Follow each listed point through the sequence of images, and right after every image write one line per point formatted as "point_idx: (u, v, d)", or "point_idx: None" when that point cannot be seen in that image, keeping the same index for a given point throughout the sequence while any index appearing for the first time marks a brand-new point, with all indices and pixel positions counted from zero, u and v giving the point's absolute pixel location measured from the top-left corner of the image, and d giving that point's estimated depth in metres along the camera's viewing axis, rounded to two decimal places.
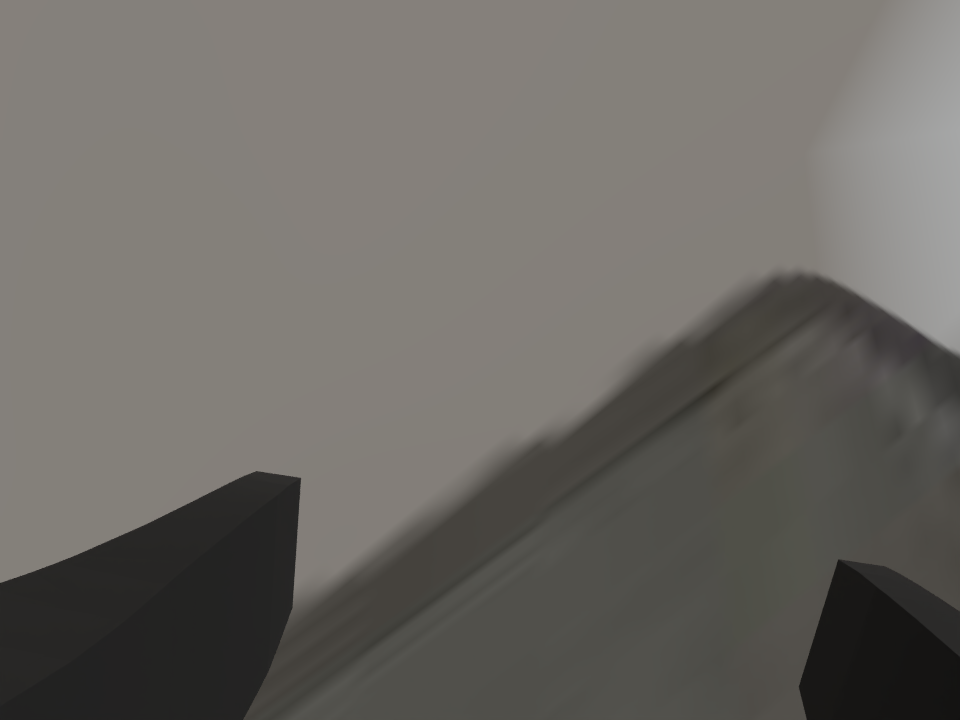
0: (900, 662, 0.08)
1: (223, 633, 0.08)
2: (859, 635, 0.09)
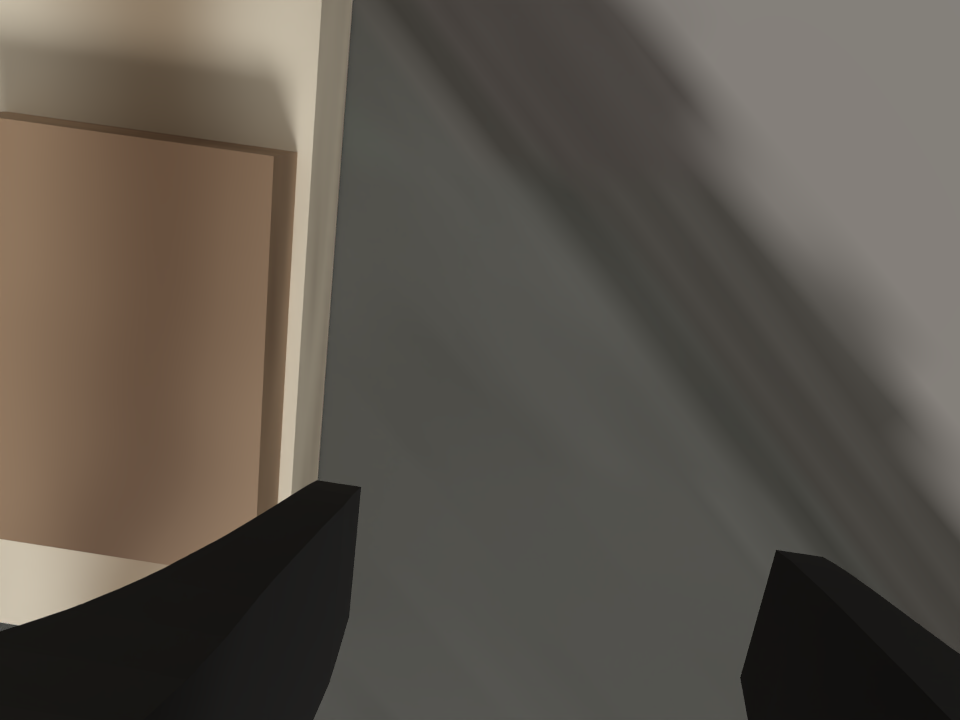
0: (826, 651, 0.09)
1: (297, 645, 0.08)
2: (791, 625, 0.09)
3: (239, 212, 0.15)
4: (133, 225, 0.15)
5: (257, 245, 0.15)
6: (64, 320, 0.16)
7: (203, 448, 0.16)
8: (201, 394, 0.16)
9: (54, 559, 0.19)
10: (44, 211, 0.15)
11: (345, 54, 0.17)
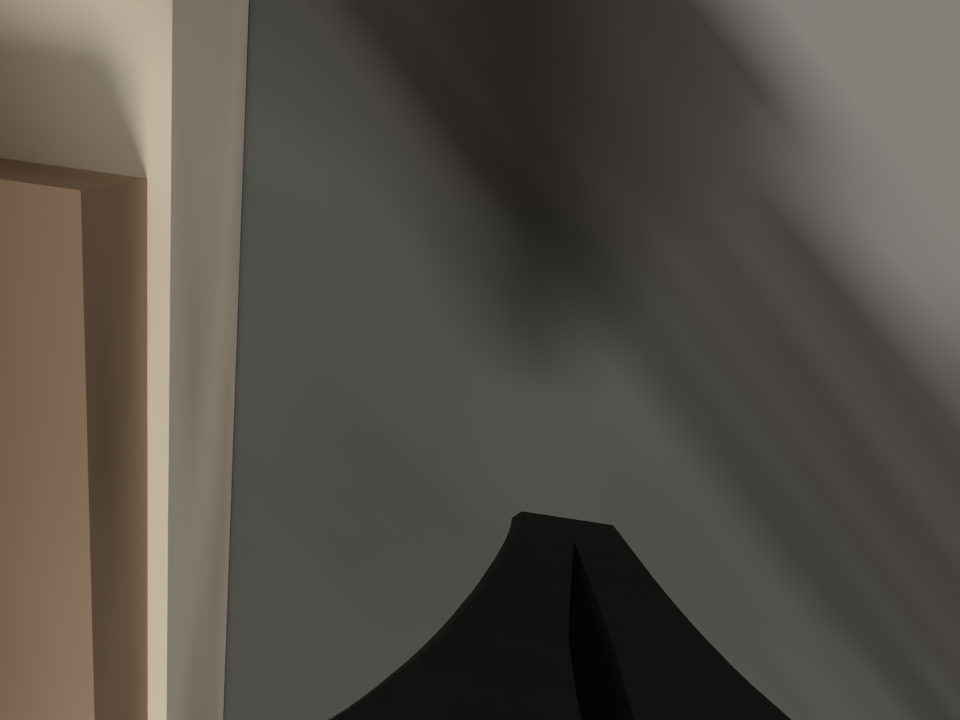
0: (576, 612, 0.09)
1: None
2: None
3: (30, 284, 0.09)
4: None
5: (65, 338, 0.09)
6: None
7: (4, 648, 0.10)
8: None
9: None
10: None
11: (240, 23, 0.11)
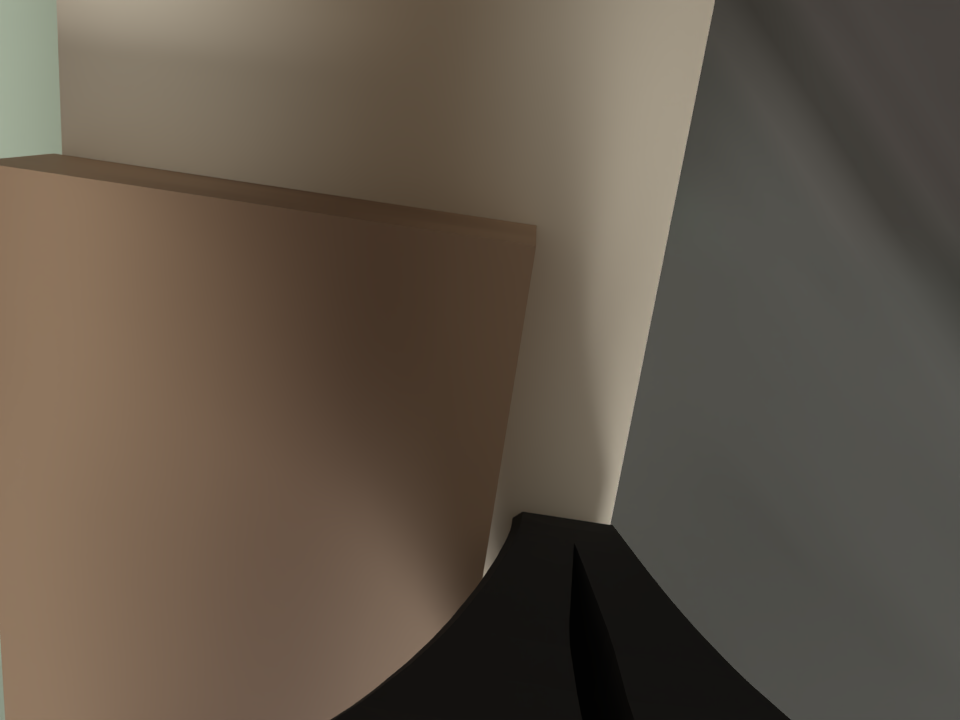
0: (575, 612, 0.09)
1: None
2: None
3: (466, 339, 0.09)
4: (276, 356, 0.09)
5: (490, 393, 0.09)
6: (149, 504, 0.09)
7: None
8: (372, 622, 0.10)
9: None
10: (122, 330, 0.09)
11: None
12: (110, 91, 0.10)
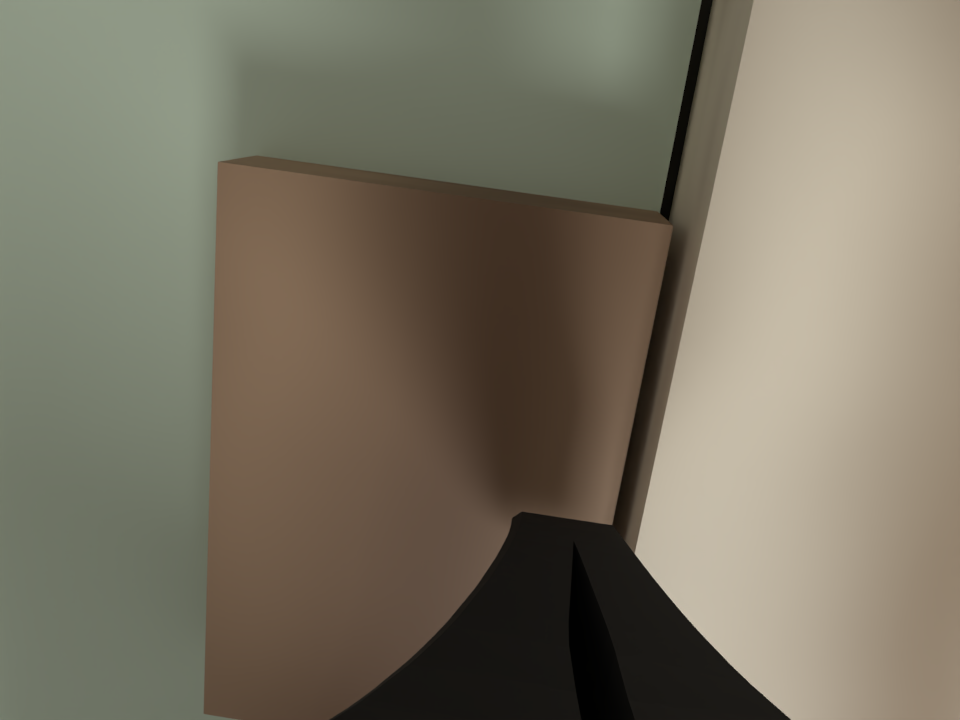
0: (576, 612, 0.09)
1: None
2: None
3: (611, 302, 0.11)
4: (456, 318, 0.11)
5: (630, 346, 0.11)
6: (342, 443, 0.11)
7: None
8: None
9: None
10: (331, 298, 0.11)
11: None
12: (770, 182, 0.09)
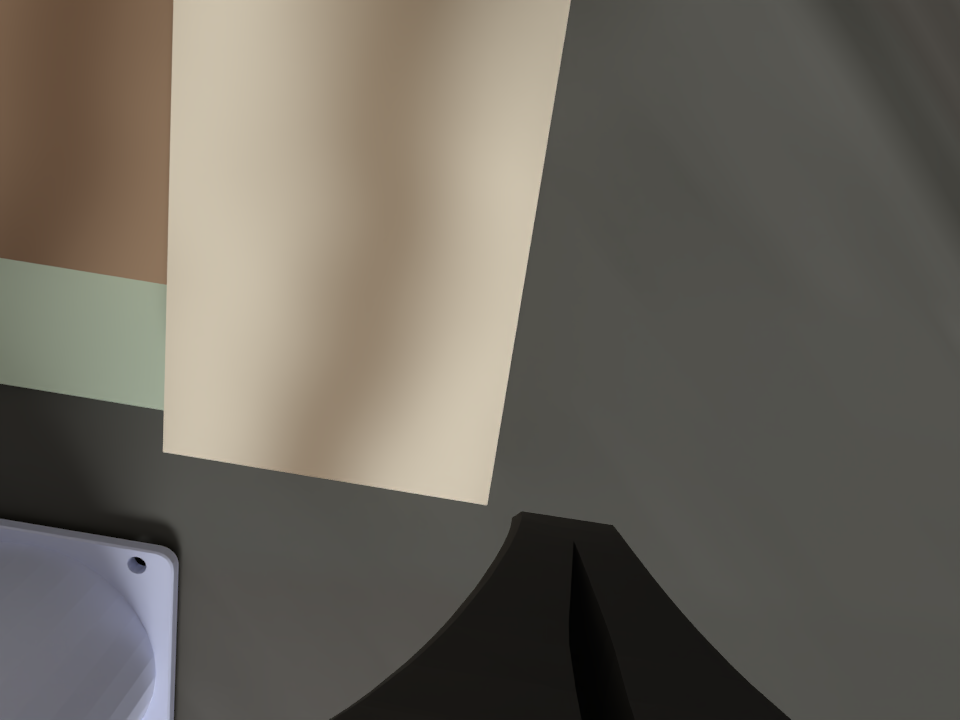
0: (576, 612, 0.09)
1: None
2: None
3: None
4: None
5: None
6: None
7: (117, 142, 0.17)
8: (115, 82, 0.16)
9: (244, 379, 0.17)
10: None
11: None
12: None
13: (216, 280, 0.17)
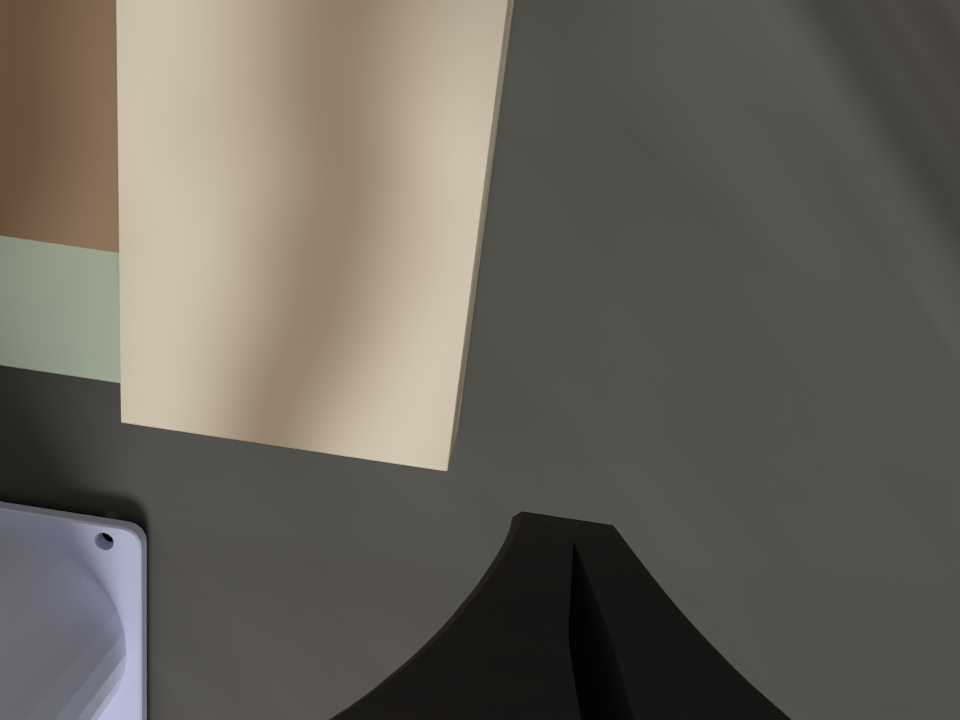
0: (576, 612, 0.09)
1: None
2: None
3: None
4: None
5: None
6: None
7: (67, 109, 0.17)
8: (62, 48, 0.16)
9: (200, 346, 0.17)
10: None
11: None
12: None
13: (168, 246, 0.17)
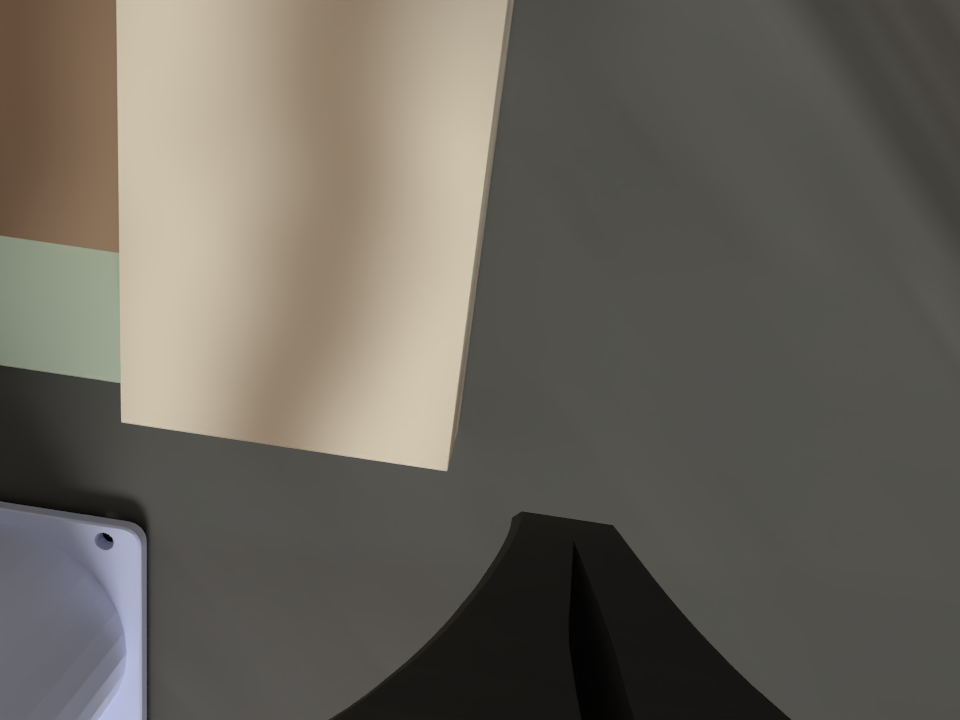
0: (576, 612, 0.09)
1: None
2: None
3: None
4: None
5: None
6: None
7: (67, 109, 0.17)
8: (62, 48, 0.16)
9: (200, 346, 0.17)
10: None
11: None
12: None
13: (168, 246, 0.17)
